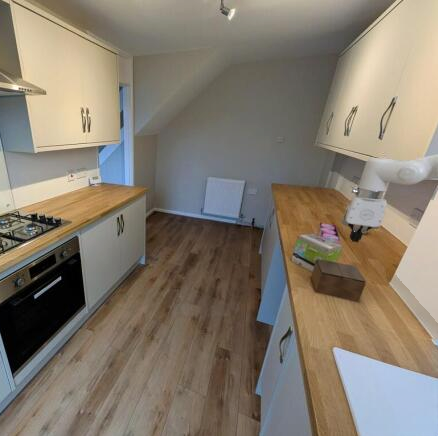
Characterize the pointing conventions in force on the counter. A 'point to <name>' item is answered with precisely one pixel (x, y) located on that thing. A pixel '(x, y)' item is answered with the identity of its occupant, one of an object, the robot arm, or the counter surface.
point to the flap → (350, 272)
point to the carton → (335, 281)
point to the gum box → (328, 232)
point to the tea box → (314, 250)
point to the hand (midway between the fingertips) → (354, 240)
